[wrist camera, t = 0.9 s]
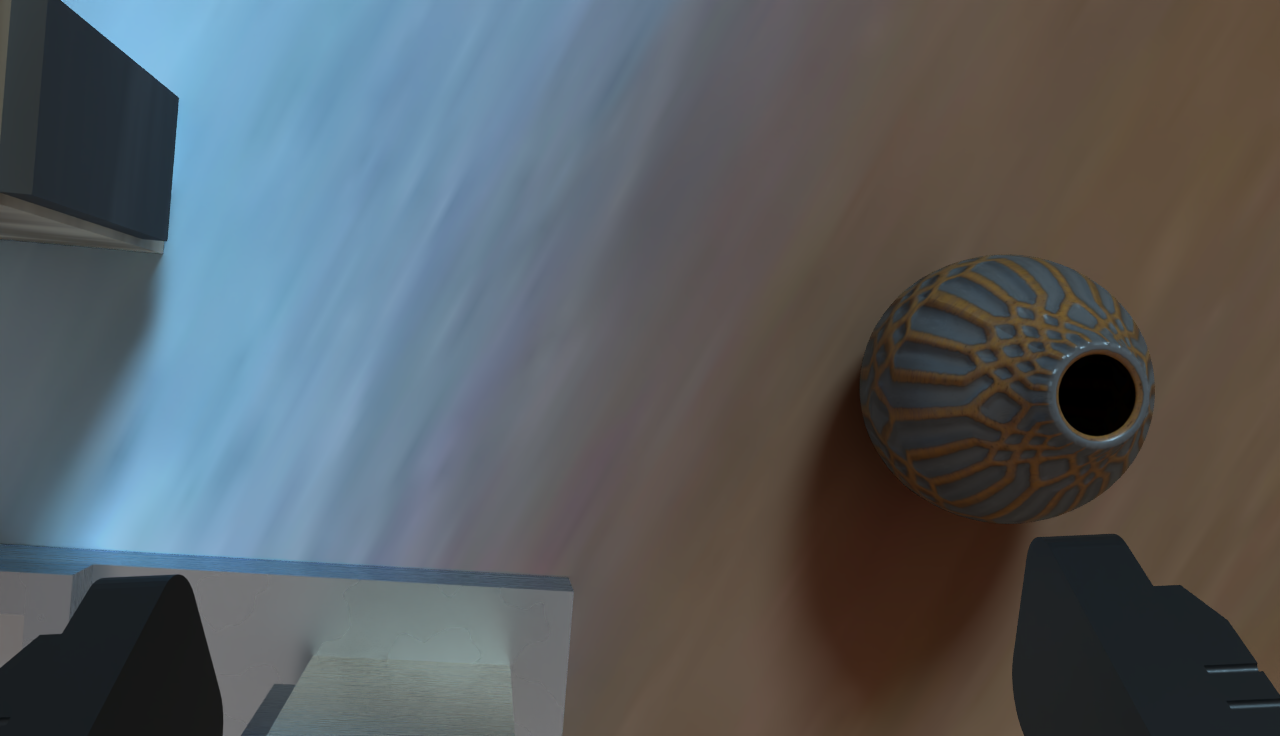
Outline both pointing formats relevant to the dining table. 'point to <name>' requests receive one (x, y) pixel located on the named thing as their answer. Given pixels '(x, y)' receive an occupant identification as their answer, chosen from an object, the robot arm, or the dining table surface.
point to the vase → (1007, 389)
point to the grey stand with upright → (337, 640)
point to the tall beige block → (80, 135)
